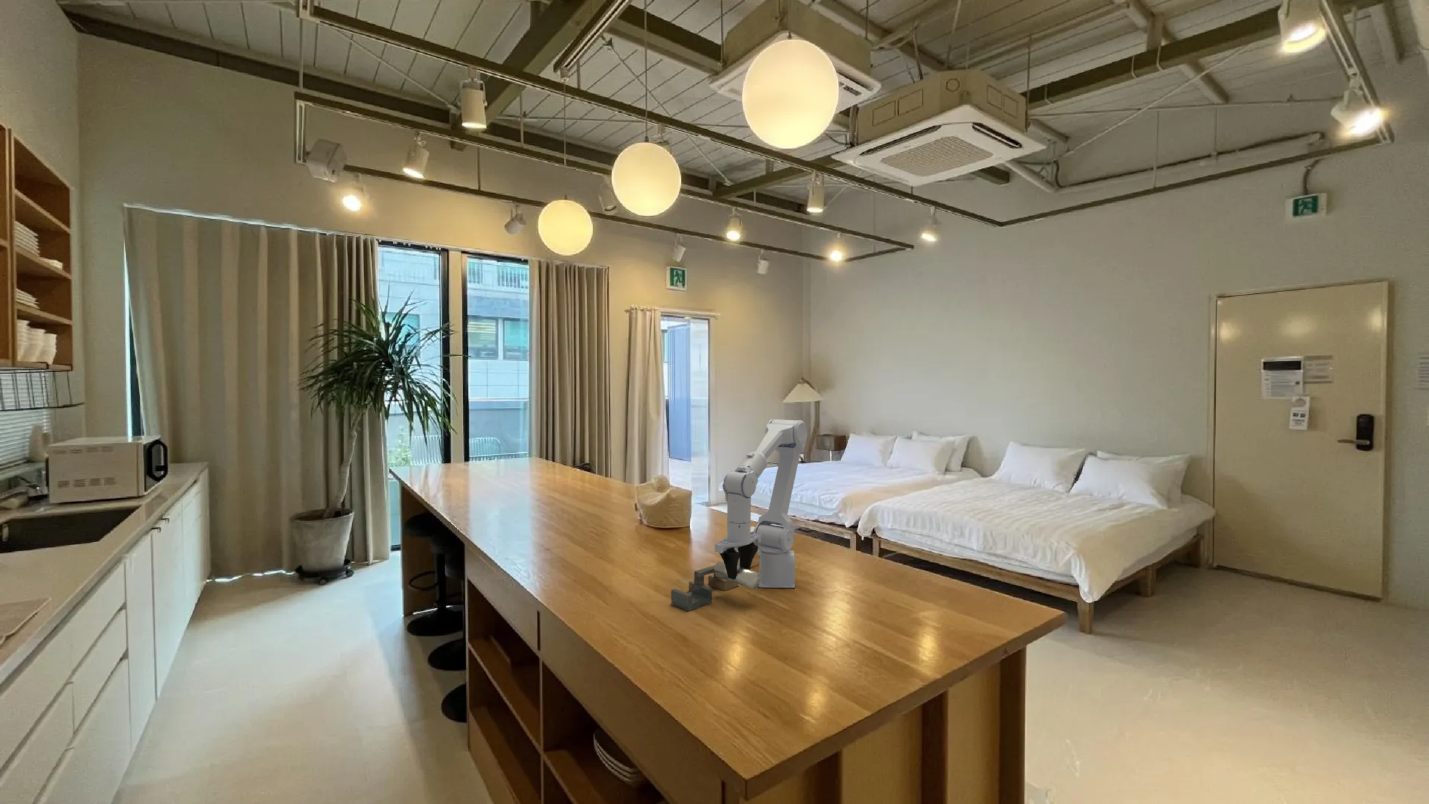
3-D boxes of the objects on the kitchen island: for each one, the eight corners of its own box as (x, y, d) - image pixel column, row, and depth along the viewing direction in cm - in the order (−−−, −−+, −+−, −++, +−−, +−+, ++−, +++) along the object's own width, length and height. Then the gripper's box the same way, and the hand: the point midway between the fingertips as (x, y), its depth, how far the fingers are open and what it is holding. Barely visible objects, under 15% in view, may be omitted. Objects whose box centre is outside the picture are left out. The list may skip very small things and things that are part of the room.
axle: (713, 578, 148) (714, 562, 148) (724, 575, 151) (725, 560, 151) (749, 590, 140) (750, 573, 140) (760, 587, 142) (761, 571, 142)
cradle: (671, 604, 142) (671, 589, 142) (695, 596, 148) (695, 582, 148) (687, 611, 138) (688, 596, 138) (711, 602, 144) (712, 588, 144)
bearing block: (688, 591, 152) (689, 569, 151) (722, 580, 160) (722, 559, 160) (705, 597, 147) (705, 575, 147) (738, 585, 156) (738, 564, 156)
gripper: (746, 513, 152) (746, 565, 153) (706, 522, 142) (705, 578, 143) (767, 518, 147) (767, 572, 148) (727, 528, 137) (726, 586, 138)
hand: (738, 576), depth 145 cm, fingers closed on axle, 4 cm apart
